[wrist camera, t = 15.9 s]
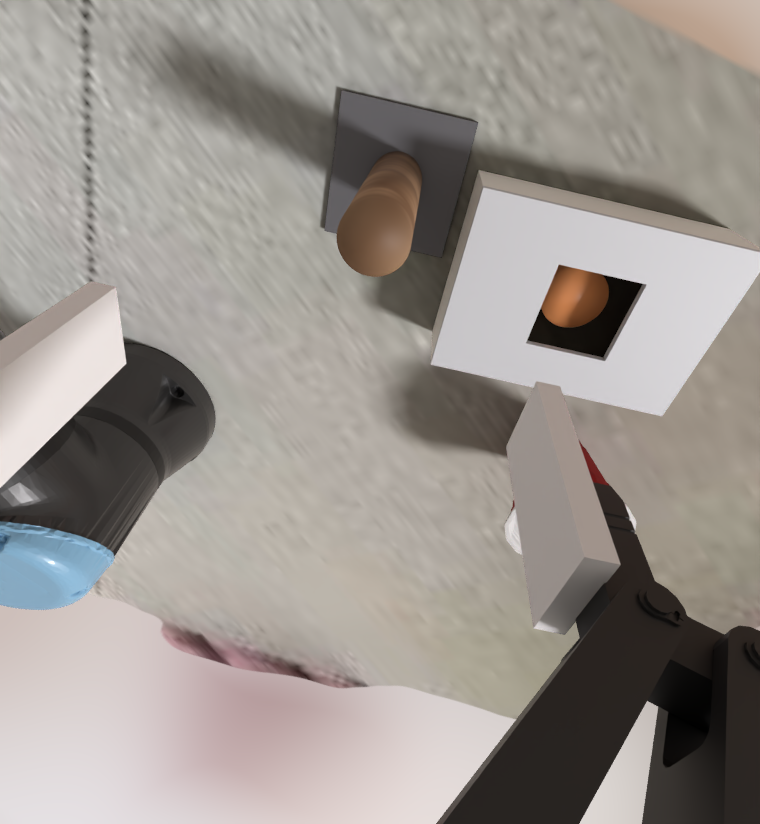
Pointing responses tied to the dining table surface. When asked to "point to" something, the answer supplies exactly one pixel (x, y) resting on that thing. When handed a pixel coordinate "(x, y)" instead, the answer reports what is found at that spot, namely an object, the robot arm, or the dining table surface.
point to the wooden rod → (382, 216)
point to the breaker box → (596, 252)
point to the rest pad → (412, 134)
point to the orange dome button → (575, 297)
